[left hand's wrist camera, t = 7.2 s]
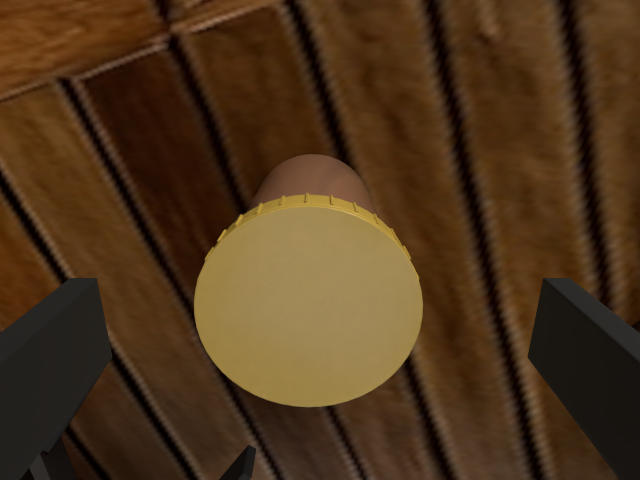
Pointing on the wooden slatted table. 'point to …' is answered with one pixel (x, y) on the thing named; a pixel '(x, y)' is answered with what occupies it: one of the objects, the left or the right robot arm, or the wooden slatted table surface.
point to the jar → (313, 181)
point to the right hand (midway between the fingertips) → (173, 421)
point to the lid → (308, 301)
